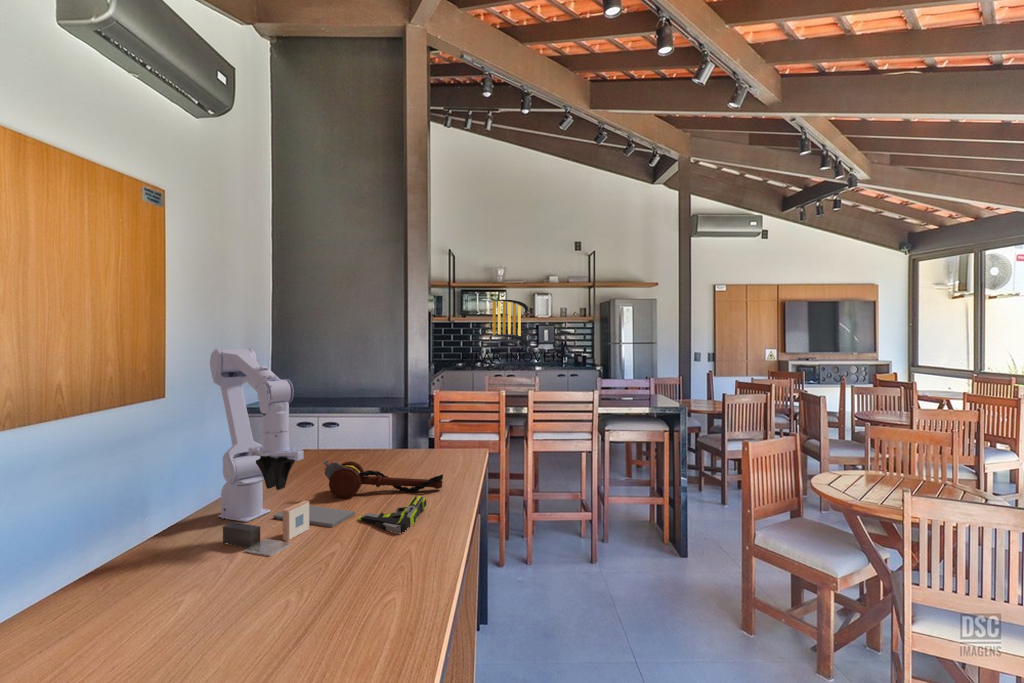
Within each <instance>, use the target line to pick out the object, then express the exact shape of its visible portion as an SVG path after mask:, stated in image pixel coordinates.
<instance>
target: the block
mask: <svg viewBox="0 0 1024 683" xmlns="http://www.w3.org/2000/svg"><path fill="white" fill-rule="evenodd" d="M309 505H310V500H302V501H299V502H298V503H295V504H293V505H291V506H289V507H286V508H284V509H282V511H283V520H282V541H283V540H285V541H284V542H289V541H291V540H293V539H294V538H293V537H295V538H296V536H297V535H299V534H301V533H302V534H304V533H306V532H308V531H310V524H309ZM307 530H308V531H307ZM305 531H306V532H305ZM303 532H304V533H303ZM302 534H301V535H302ZM299 536H300V535H299ZM297 537H298V536H297ZM292 538H293V539H292ZM290 539H291V540H290ZM288 540H289V541H288Z"/></svg>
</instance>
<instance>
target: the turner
mask: <svg viewBox="0 0 1024 683" xmlns="http://www.w3.org/2000/svg"><path fill="white" fill-rule="evenodd" d="M223 543H228V544H232V545H236V546H235V547H238V546H241V547H240V548H244V547H246V548H244V553H247V552H249V554H253V555H260V556H265V557H270V556H271V557H272V556H274V555H276V554H278V553H279V552H282V551H284V550H285V549H288V548H289V547H291V546H292V542H289V541H283V540H278V539H277V540H276V539H272V538H271V539H270V538H264V539H263V540H261V526H259V525H252V524H245V523H239V522H236V521H235V522H234V521H232V522H230V523H227V524H225V525H223V526H222V544H223ZM232 545H231V546H232ZM290 545H291V546H290ZM288 546H289V547H288ZM283 549H284V550H283ZM281 550H282V551H281Z"/></svg>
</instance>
